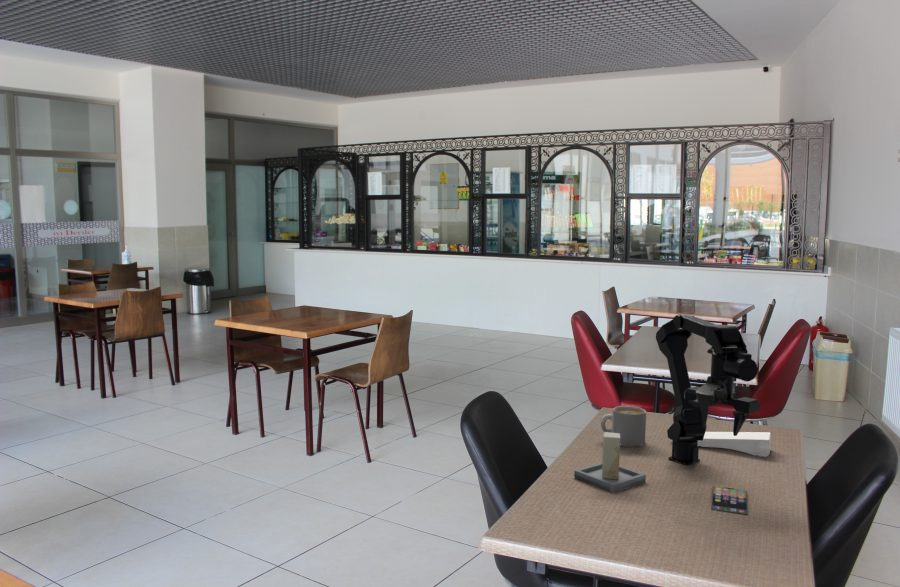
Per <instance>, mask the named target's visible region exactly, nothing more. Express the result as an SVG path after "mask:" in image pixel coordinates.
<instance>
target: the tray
mask: <svg viewBox="0 0 900 587" xmlns="http://www.w3.org/2000/svg"><path fill="white" fill-rule="evenodd" d="M573 472H574V473H573V474H574V475H573V477H575V478H574V479H576V478H577V480H579V479H580V480H579V481H582V482H584V481H585V483H587V484H589V483H590V485H592V486H595V487H598V488H600V489H601V490H604V491H607V492H610V493H612V494H614V493H616V492H620V491H623V490H625V489H629V488H632V487H635V486H638V485H641V484H643V483H646V479H647V476H646V475H647V474H646V473H642V472H639V471H637V470H633V469H631V468H628V467H625V466H622V465H620V464H619V479H608V478H602V462H599V463H594V464H592V465H588V466H585V467H581V468H578V469H574V471H573Z"/></svg>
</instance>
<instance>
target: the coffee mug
mask: <svg viewBox="0 0 900 587" xmlns="http://www.w3.org/2000/svg"><path fill="white" fill-rule="evenodd" d="M607 420H610V421H611V427H610V428H607V427H606V421H607ZM646 426H647V410H645V409H644V408H641V407H638V406H629V405H627V406H626V405H622V406H621V405H619V406H615V407H613V409H612V414H611V413H608V414H607V413H606V414H604V415H603V416H602V417H601V419H600V427H601V430H602V432H603V433H604V432H610V433H620V444H621V445H626V446H625V447H627V446H639V447H642V446H641V445H643V446H645V444H646V430H647V428H646ZM621 445H620V446H621Z"/></svg>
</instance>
